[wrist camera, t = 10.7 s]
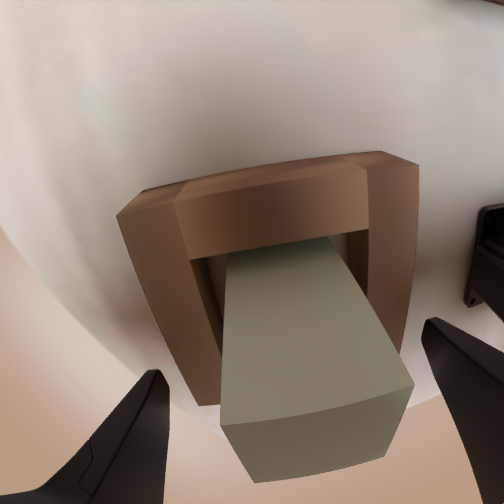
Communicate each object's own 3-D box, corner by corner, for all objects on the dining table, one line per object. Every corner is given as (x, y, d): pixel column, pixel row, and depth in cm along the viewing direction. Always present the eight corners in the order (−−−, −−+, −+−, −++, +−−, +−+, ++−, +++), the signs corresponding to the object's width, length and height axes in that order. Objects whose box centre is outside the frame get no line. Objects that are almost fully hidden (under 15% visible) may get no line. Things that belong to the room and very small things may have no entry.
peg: (323, 231, 12) (414, 384, 5) (328, 307, 14) (383, 456, 7) (227, 247, 12) (219, 425, 5) (246, 322, 14) (254, 483, 7)
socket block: (380, 150, 11) (418, 165, 8) (376, 332, 16) (395, 369, 13) (142, 190, 12) (115, 215, 9) (202, 363, 16) (198, 405, 13)
